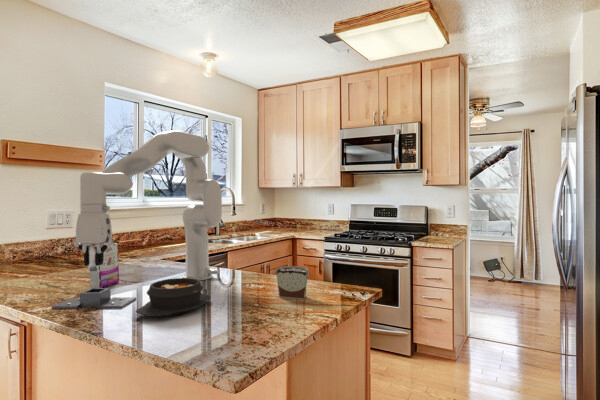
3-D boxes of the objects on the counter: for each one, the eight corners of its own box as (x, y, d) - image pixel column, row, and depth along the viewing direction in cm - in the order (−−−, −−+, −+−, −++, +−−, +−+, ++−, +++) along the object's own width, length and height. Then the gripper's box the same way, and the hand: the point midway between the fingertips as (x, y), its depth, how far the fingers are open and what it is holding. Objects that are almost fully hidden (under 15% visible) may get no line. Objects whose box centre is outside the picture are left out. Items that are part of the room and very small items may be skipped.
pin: (100, 269, 127) (100, 245, 127) (95, 271, 124) (95, 246, 124) (91, 269, 127) (91, 245, 127) (86, 271, 124) (86, 246, 124)
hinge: (136, 299, 131) (135, 286, 131) (121, 308, 121) (121, 294, 121) (71, 300, 131) (71, 287, 131) (52, 308, 121) (51, 294, 121)
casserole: (168, 326, 104) (167, 296, 104) (121, 317, 112) (120, 289, 112) (224, 302, 127) (223, 277, 126) (181, 296, 135) (181, 272, 135)
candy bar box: (108, 281, 158) (108, 242, 158) (119, 282, 157) (118, 242, 157) (88, 288, 147) (88, 246, 147) (100, 289, 146) (99, 246, 146)
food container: (313, 294, 135) (313, 266, 134) (308, 299, 129) (308, 270, 129) (281, 292, 139) (281, 265, 138) (275, 296, 133) (274, 268, 133)
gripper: (123, 209, 129) (123, 263, 129) (76, 209, 129) (76, 263, 129) (112, 209, 121) (112, 267, 122) (61, 209, 122) (62, 267, 122)
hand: (93, 264), depth 125 cm, fingers closed on pin, 3 cm apart
